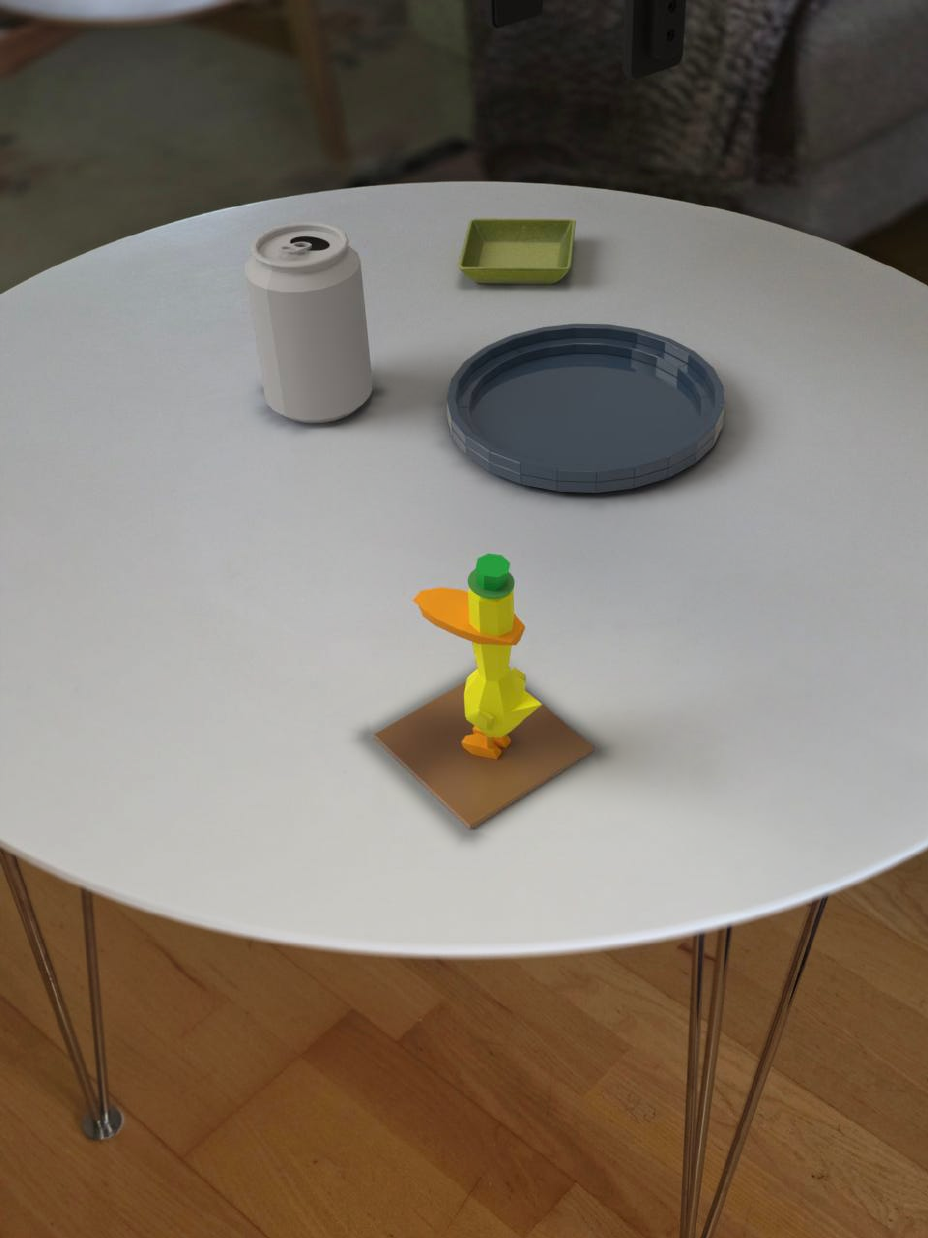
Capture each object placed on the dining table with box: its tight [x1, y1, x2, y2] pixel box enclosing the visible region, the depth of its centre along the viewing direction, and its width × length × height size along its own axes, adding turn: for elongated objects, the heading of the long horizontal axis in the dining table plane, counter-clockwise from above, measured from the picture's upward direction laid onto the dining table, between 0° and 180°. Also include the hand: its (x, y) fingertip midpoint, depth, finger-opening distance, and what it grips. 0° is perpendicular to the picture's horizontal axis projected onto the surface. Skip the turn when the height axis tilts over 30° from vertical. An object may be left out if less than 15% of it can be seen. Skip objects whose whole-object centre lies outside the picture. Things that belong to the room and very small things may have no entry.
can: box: [244, 221, 374, 424], centre depth 91 cm, size 8×8×12 cm
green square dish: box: [457, 217, 577, 285], centre depth 108 cm, size 9×9×2 cm
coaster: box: [373, 680, 595, 831], centre depth 69 cm, size 8×8×1 cm
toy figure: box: [412, 553, 543, 759], centre depth 65 cm, size 7×4×12 cm, turn 59°
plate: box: [445, 323, 726, 494], centre depth 91 cm, size 18×18×2 cm
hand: (580, 44), depth 65 cm, fingers open, 9 cm apart
